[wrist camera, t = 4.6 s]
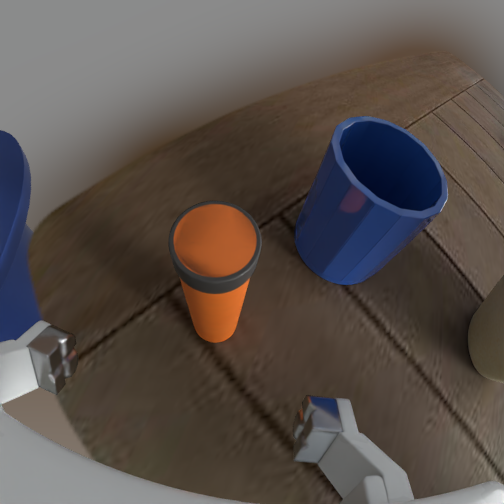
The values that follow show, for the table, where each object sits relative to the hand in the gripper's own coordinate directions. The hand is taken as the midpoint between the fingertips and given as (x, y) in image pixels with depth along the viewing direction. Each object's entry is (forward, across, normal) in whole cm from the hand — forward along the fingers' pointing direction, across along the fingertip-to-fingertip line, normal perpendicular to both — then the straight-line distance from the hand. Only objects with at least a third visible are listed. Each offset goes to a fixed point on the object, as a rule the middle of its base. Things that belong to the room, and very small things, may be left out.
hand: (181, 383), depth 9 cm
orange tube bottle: (+11, 0, +4) cm, 12 cm away
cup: (+17, -8, -2) cm, 19 cm away
